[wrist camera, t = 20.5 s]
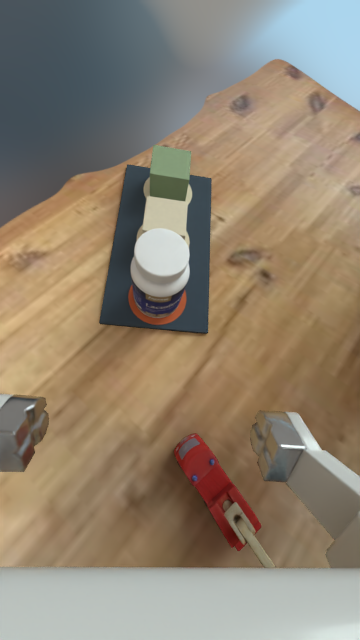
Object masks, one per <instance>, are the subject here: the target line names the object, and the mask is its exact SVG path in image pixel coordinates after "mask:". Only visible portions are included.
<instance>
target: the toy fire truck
mask: <svg viewBox="0 0 360 640" xmlns="http://www.w3.org/2000/svg"><path fill="white" fill-rule="evenodd" d="M174 455H175V457H176V459H177V462H178V464H179V466H180V467H181V469H182V470H183V471H184V473H185V475H186V476H187V478H188V479H189V481H190V482H191V484H192V485H193V486H195V488H196V489H197V490H198V492H199V493H200V495H201V496H202V498H203V499H204V502H205V504H206V506H207V507H208V509H209V510H210V512H211V514H212V516H213V517H214V519H215V521H216V522H217V524H218V526H219V527H220V529H221V531H222V533H223V534H224V536H225V538H226V539H227V541H228V543H229V544H230V546H231V548H233V547H234V546H235V548H236V549H237V551H240V550H241V549H242V548H243V547H244V546H245V545H246V543H248V544H249V546H250V547H251V549H252V550H253V552H254V553H255V555H256V556H257V558H258V559H259V561H260V562H261V564H262V565H263V567H264V568H276V567H275V565H274V564H273V562H272V561H271V559H270V558H269V557H268V555H267V554H266V552H265V551H264V549H263V548H262V547H261V545H260V544H259V542H258V541H257V539H256V538H255V536H254V535H255V534H256V533H257V531H258V530H259V529H260V528H261V523H260V522H259V520H258V519H257V517H256V515H255V514H254V512H253V511H252V509H251V508H250V507H249V505H248V504H247V502H246V501H245V500H244V498H243V497H242V495H241V494H240V492H239V491H238V489H237V488H236V486H235V485H234V484H233V483H232V482H231V481H230V479H229V478H228V476H227V475H226V473H225V472H224V471H223V469H222V468H221V466H220V465H219V462H218V460H217V458H216V457H215V456H214V454H213V453H212V451H211V450H210V449H209V447H208V446H207V445H206V444H205V442H204V441H203V440H202V439H201V438H200V437H199V435H197V434H196V433H195V434H191V435H189V436H187V437H185V438H184V439H183V440H181V441H180V442H179V444H178V445H177V446H176V448H175V450H174Z"/></svg>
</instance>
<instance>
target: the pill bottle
mask: <svg viewBox="0 0 360 640" xmlns="http://www.w3.org/2000/svg"><path fill="white" fill-rule="evenodd" d="M189 257H190V253H189V248H188V245H187V243H186V242H185V240H184V239H183V238H182V237H181V236H180V235H178V234H177V233H175V232H173V231H171V230H168V229H162V228H158V229H152V230H149V231H147V232H145V233H143V234H142V235H141V236H140V237H139V238H138V240H137V242H136V244H135V248H134V257H133V259H132V262H131V279H132V287H133V296H134V301H135V304H136V306H137V307H138V309H139V310H140V311H141V312H142V313H144V314H145V315H147V316H149V317H153V318H163V317H166V316H169V315H170V314H172V313H173V312H174V311H175V310H176V309H177V307H178V305H179V303H180V300H181V298H182V295H183V293H184V290H185V287H186V285H187V282H188V279H189V274H190V268H189V263H188V262H189Z"/></svg>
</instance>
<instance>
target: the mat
mask: <svg viewBox="0 0 360 640" xmlns="http://www.w3.org/2000/svg"><path fill="white" fill-rule="evenodd" d="M147 196H150V168H146V167H140V166H134V165H128V164H127V168H126V174H125V180H124V185H123V191H122V197H121V202H120V208H119V214H118V219H117V225H116V231H115V236H114V242H113V248H112V253H111V259H110V265H109V270H108V276H107V282H106V287H105V293H104V299H103V304H102V310H101V316H100V321H99V323H100V324H107V325H117V326H128V327H139V328H150V329H161V330H172V331H183V332H193V333H204V334H207V333H208V305H209V261H210V218H211V178H206V177H200V176H194V175H190V177H189V184H188V189H187V195H186V200H185V202H188V207H187V223H186V237H185V242H186V243H187V245H188V248H189V253H190V257H189V262H188V263H189V268H190V274H189V279H188V282H187V285H186V287H185V290H184V293H183V295H182V298H181V300H180V303H179V305H178V307H177V309H176V310H175V311H174V312H173V313H172V314H170V315H169V316H166V317H163V318H153V317H149V316H147V315H145V314H144V313H142V312H141V311H140V310H139V309H138V307H137V306H136V304H135V301H134V296H133V287H132V279H131V262H132V259H133V257H134V248H135V244H136V242H137V240H138V238H139V237H140V236H141V235H142V228H143V220H144V213H145V205H146V198H147Z"/></svg>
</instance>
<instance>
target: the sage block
mask: <svg viewBox="0 0 360 640" xmlns="http://www.w3.org/2000/svg"><path fill="white" fill-rule="evenodd" d="M190 161H191V151H185V150H179V149H174V148H168V147H163V146H157V145H154V146H153V153H152V161H151V168H150V196H151V197H158V198H165V199H171V200H178V201H184V202H185V200H186V195H187V189H188V184H189V177H190Z"/></svg>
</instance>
